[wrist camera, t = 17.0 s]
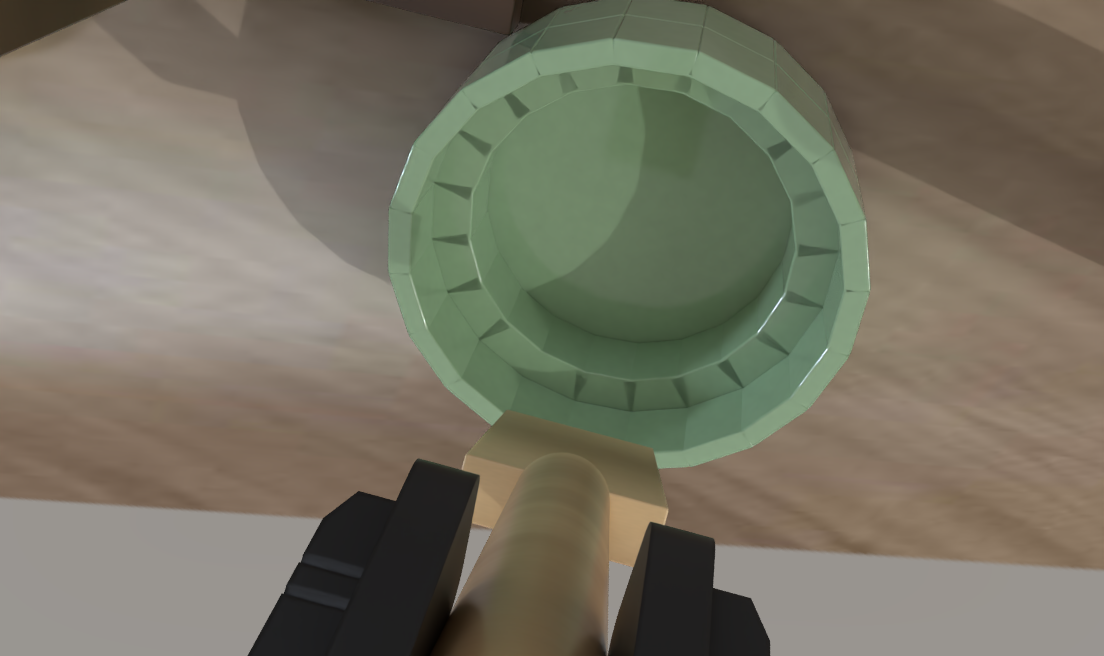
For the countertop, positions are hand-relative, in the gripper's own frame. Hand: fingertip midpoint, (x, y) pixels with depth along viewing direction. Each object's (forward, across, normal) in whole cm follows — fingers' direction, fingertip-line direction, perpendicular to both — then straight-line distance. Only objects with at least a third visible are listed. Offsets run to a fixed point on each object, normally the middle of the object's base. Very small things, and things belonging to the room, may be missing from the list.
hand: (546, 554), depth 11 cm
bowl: (+26, 0, +8) cm, 27 cm away
